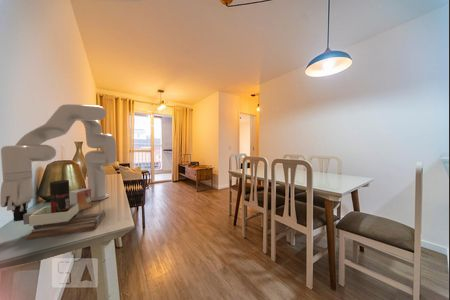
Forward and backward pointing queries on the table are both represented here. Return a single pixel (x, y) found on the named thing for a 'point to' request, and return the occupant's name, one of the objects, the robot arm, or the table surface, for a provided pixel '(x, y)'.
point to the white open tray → (49, 216)
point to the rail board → (68, 226)
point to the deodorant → (59, 196)
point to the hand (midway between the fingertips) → (20, 219)
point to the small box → (81, 198)
